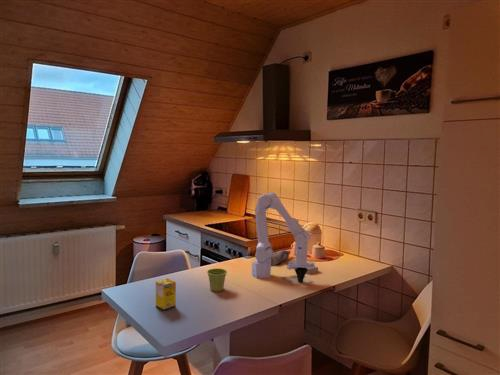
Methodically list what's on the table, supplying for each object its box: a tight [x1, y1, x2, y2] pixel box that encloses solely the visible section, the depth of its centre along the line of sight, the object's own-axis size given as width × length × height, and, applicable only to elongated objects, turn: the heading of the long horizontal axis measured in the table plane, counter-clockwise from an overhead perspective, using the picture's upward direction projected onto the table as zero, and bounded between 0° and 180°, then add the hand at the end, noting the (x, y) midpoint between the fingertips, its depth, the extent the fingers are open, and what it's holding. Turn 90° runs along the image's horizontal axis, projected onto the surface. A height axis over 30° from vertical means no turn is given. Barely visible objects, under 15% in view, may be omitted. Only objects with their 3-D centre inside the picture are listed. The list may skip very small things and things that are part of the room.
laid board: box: [280, 274, 306, 281], centre depth 194 cm, size 13×4×1 cm, turn 113°
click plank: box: [285, 277, 314, 286], centre depth 189 cm, size 12×7×1 cm, turn 113°
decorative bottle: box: [271, 249, 292, 267], centre depth 225 cm, size 26×8×7 cm, turn 148°
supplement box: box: [155, 278, 177, 312], centre depth 156 cm, size 6×6×11 cm
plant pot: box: [206, 268, 228, 292], centre depth 177 cm, size 9×9×9 cm
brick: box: [287, 259, 319, 275], centre depth 208 cm, size 17×8×5 cm, turn 34°
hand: (300, 282), depth 187 cm, fingers closed
